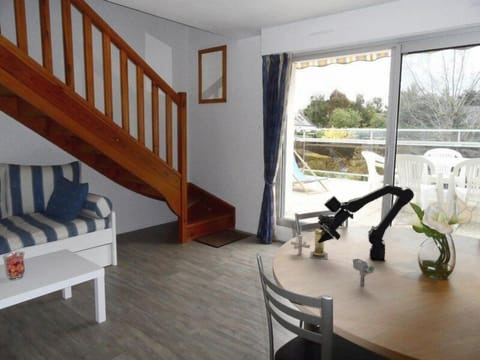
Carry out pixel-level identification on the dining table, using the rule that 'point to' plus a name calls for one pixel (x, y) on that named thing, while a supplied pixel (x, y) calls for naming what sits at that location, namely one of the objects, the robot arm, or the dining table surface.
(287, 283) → the dining table surface
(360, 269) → the grey mottled tree figurine
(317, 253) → the brass pedestal cup
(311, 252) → the mat
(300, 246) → the pipe connector
